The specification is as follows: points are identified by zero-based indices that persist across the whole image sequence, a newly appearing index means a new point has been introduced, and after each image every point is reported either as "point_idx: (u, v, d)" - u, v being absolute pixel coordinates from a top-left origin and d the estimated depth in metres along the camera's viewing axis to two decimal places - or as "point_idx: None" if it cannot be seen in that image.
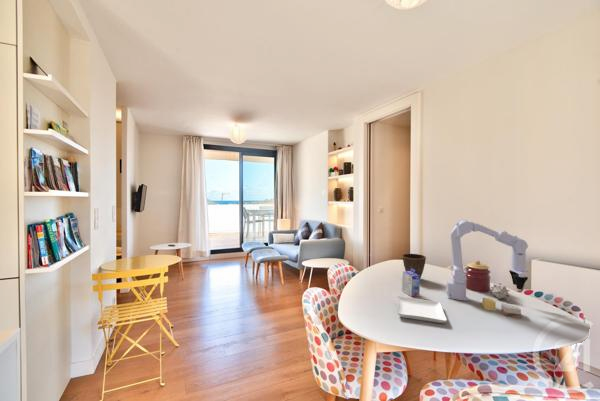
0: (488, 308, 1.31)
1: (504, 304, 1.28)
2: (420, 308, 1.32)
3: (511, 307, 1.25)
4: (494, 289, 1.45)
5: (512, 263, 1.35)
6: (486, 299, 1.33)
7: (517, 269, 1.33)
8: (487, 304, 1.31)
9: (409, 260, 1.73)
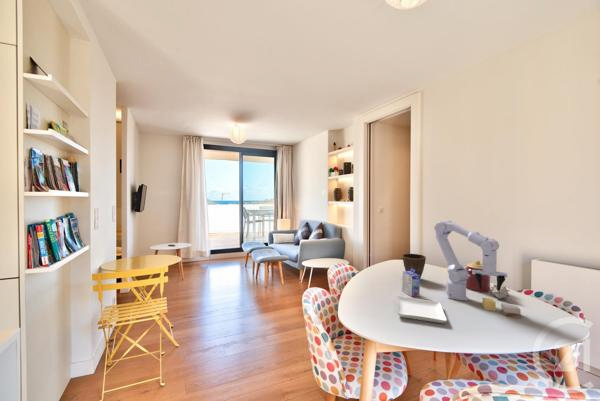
0: (488, 308, 1.31)
1: (504, 304, 1.28)
2: (420, 308, 1.32)
3: (510, 307, 1.25)
4: (494, 289, 1.45)
5: None
6: (486, 299, 1.33)
7: None
8: (487, 304, 1.31)
9: (409, 260, 1.73)
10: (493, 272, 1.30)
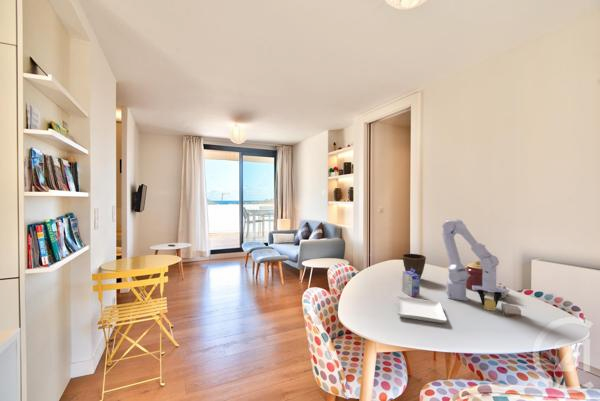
0: (488, 308, 1.31)
1: (504, 304, 1.28)
2: (420, 308, 1.32)
3: (511, 307, 1.25)
4: None
5: None
6: (486, 299, 1.33)
7: (482, 285, 1.34)
8: (487, 304, 1.31)
9: (409, 260, 1.73)
10: (493, 289, 1.30)
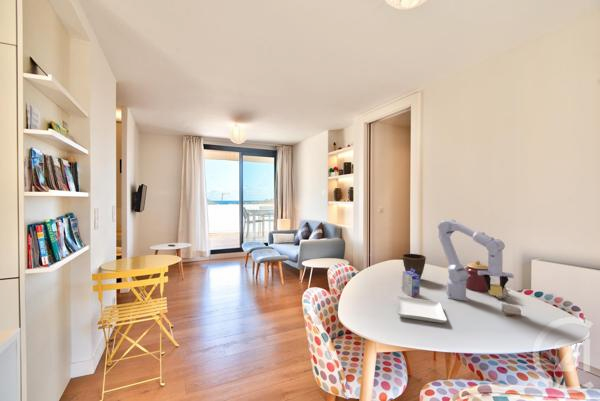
0: (494, 293, 1.29)
1: (504, 304, 1.28)
2: (420, 308, 1.32)
3: (511, 307, 1.25)
4: None
5: None
6: (492, 284, 1.31)
7: (488, 270, 1.32)
8: (493, 289, 1.29)
9: (409, 260, 1.73)
10: (499, 273, 1.28)
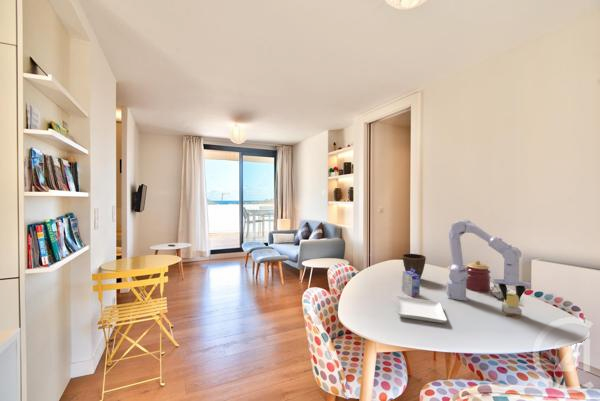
0: (510, 303, 1.24)
1: (505, 304, 1.28)
2: (420, 308, 1.32)
3: (511, 307, 1.25)
4: (494, 289, 1.45)
5: None
6: (508, 294, 1.26)
7: (504, 279, 1.27)
8: (510, 299, 1.24)
9: (409, 260, 1.73)
10: (516, 282, 1.23)
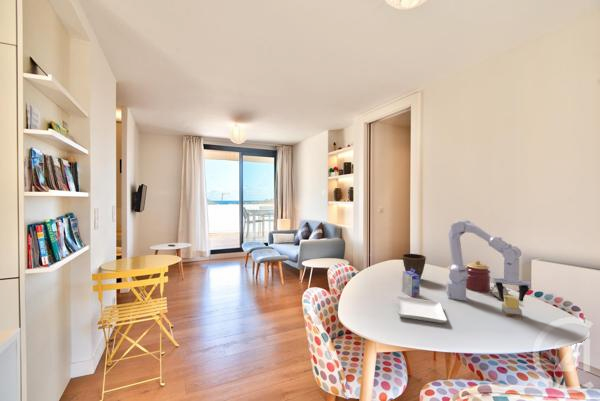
0: (511, 306, 1.24)
1: None
2: (420, 308, 1.32)
3: None
4: (494, 289, 1.45)
5: None
6: (508, 297, 1.26)
7: (504, 278, 1.27)
8: (510, 302, 1.24)
9: (409, 260, 1.73)
10: (516, 281, 1.23)
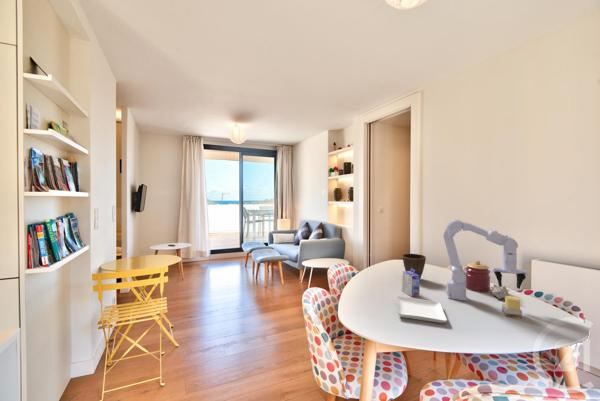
0: (512, 307, 1.24)
1: (505, 305, 1.28)
2: (420, 308, 1.32)
3: None
4: (494, 289, 1.45)
5: None
6: (509, 297, 1.26)
7: (502, 267, 1.36)
8: (511, 302, 1.24)
9: (409, 260, 1.73)
10: (513, 270, 1.31)
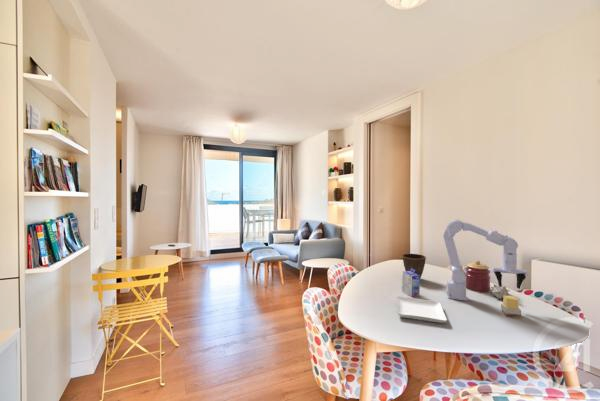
0: (510, 306, 1.24)
1: None
2: (420, 308, 1.32)
3: None
4: (494, 289, 1.45)
5: None
6: (508, 297, 1.26)
7: (502, 267, 1.36)
8: (509, 302, 1.24)
9: (409, 260, 1.73)
10: (513, 270, 1.31)
